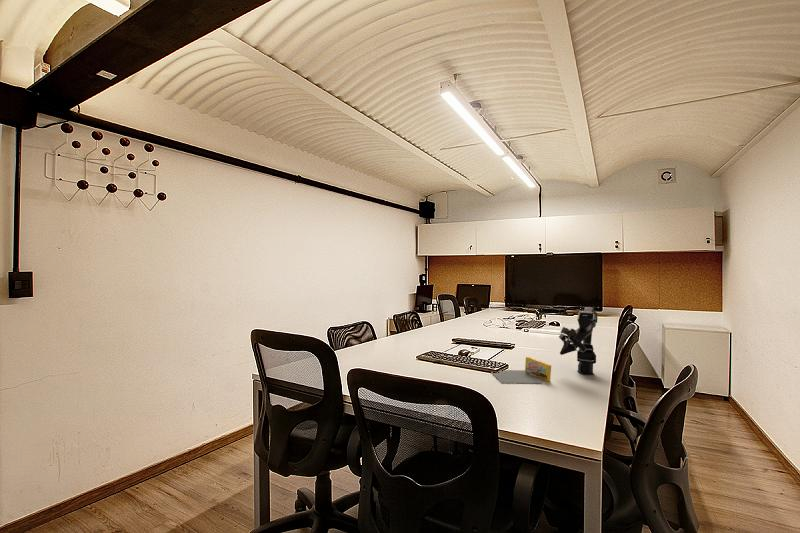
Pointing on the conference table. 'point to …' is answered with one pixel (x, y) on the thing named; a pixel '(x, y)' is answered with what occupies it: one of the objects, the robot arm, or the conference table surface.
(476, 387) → the conference table surface
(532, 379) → the mat
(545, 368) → the candy box
